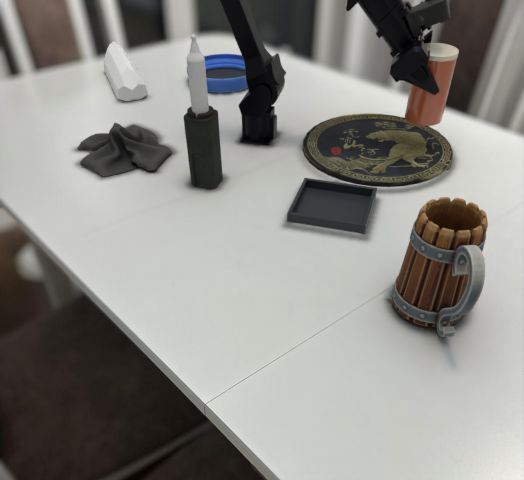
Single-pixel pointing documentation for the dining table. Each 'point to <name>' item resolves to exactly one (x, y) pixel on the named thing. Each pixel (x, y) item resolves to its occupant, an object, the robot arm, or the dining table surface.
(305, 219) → the dark gray rectangular tray
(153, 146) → the cloth
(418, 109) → the cup
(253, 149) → the dining table surface
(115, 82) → the crystal
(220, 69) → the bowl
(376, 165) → the decorative plate
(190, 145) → the candle
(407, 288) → the mug
